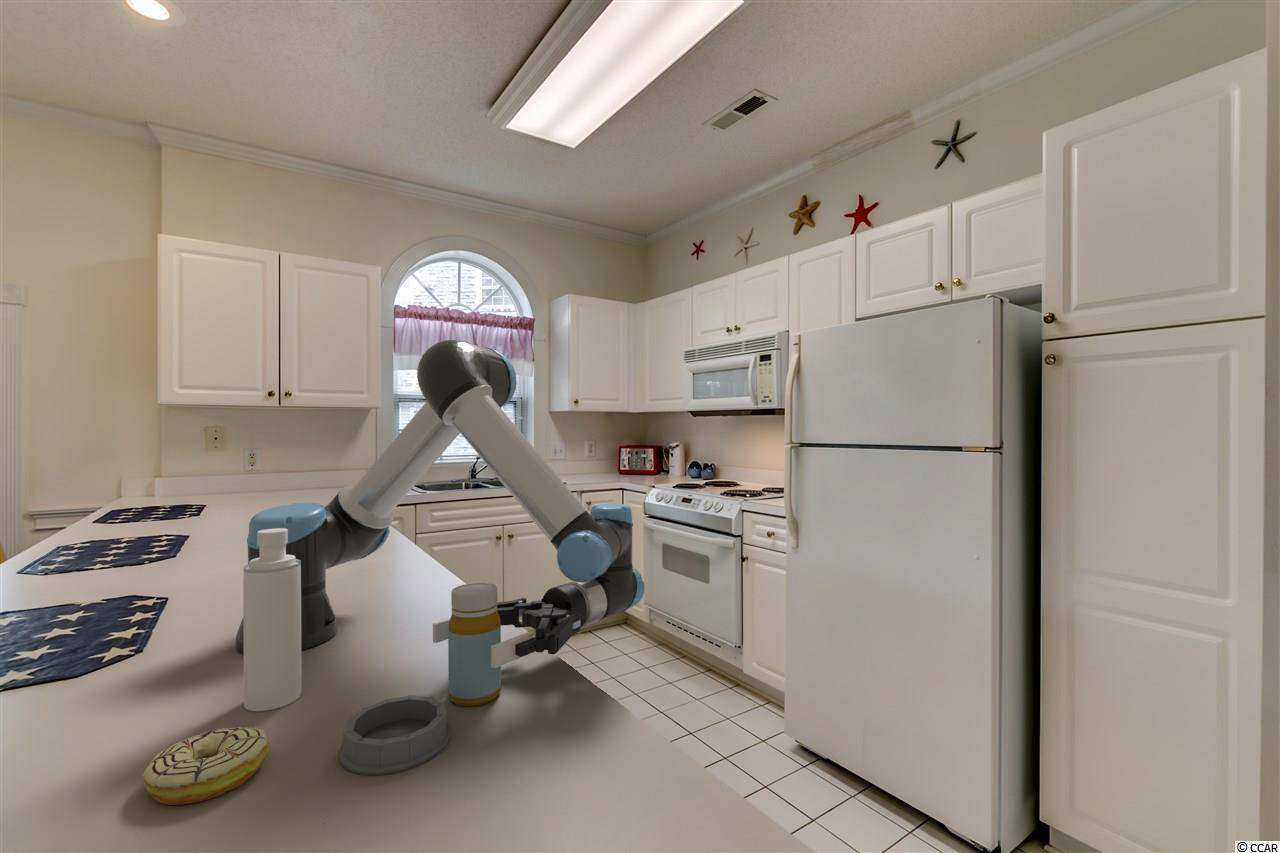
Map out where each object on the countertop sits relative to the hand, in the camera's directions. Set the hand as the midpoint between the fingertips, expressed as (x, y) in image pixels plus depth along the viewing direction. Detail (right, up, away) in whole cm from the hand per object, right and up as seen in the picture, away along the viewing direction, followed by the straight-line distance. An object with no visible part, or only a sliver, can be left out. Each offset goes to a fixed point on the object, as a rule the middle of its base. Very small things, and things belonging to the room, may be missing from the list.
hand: (461, 644), depth 77 cm
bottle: (+1, -8, +2) cm, 8 cm away
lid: (-4, -8, -10) cm, 14 cm away
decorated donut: (-22, -8, -16) cm, 29 cm away
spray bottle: (-26, -8, +1) cm, 28 cm away
